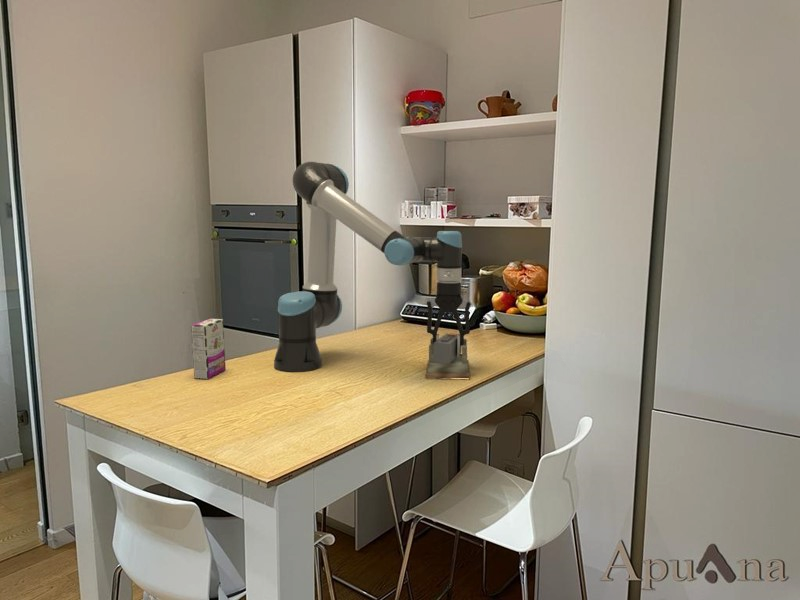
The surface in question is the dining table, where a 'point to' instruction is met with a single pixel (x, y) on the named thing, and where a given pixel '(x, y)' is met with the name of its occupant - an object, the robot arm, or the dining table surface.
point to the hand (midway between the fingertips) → (447, 355)
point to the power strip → (445, 348)
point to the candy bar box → (208, 348)
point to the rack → (448, 365)
